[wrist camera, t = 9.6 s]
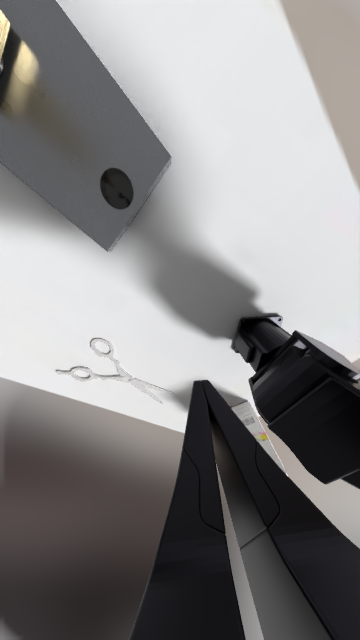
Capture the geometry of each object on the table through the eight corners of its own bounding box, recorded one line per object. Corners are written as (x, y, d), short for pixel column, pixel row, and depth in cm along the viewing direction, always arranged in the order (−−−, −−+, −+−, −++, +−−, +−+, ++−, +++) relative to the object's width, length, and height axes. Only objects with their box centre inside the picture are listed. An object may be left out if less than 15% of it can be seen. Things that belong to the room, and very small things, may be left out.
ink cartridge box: (221, 422, 36) (252, 525, 23) (213, 413, 34) (243, 521, 21) (254, 410, 34) (307, 512, 21) (249, 400, 32) (304, 506, 19)
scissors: (85, 330, 20) (187, 387, 28) (88, 327, 21) (187, 383, 28) (55, 373, 24) (153, 413, 31) (58, 369, 24) (154, 410, 32)
